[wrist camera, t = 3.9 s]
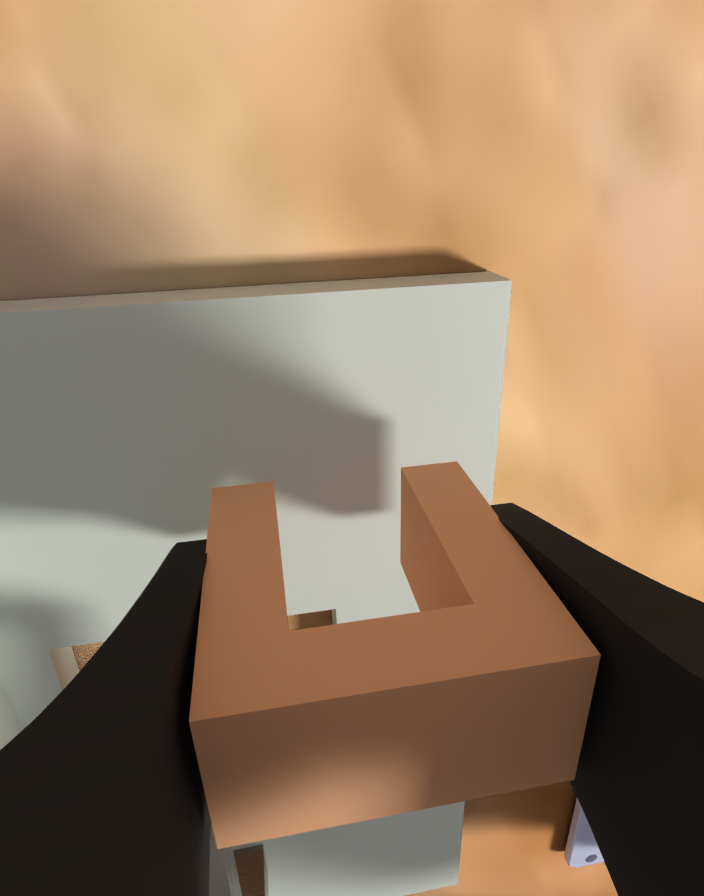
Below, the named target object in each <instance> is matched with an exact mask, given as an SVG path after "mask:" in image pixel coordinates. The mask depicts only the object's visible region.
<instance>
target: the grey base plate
mask: <svg viewBox="0 0 704 896" xmlns="http://www.w3.org/2000/svg"><path fill="white" fill-rule="evenodd" d="M511 288H512V280H510V279H507V278H505V277H503V276H500V275H498V274H495V273H493V272H490V271H486V272H470V273H453V274H437V275H421V276H404V277H388V278H371V279H355V280H338V281H322V282H305V283H289V284H272V285H256V286H239V287H223V288H206V289H190V290H174V291H157V292H141V293H124V294H108V295H91V296H75V297H58V298H42V299H25V300H9V301H0V750H1V749H2V748H3V747H4V746H5V745H7V744H8V743H9V742H10V741H11V740H12V739H13V738H14V737H15V736H17V735H18V734H19V733H20V732H21V731H22V730H23V729H24V728H25V727H27V726H28V725H29V724H30V723H31V722H32V721H33V720H34V719H35V718H36V717H37V716H38V715H39V714H40V713H41V712H42V711H43V710H44V709H45V708H46V707H47V706H48V705H49V704H50V703H51V702H52V701H53V700H54V699H55V698H56V697H57V696H58V695H59V694H60V692H61V691H62V690H63V689H64V688H65V687H66V686H67V685H68V684H69V683H70V682H71V681H72V679H73V678H74V677H75V676H76V675H77V674H78V673H79V672H80V671H79V668H78V665H77V662H76V659H75V655H74V652H73V649H72V646H78V645H85V644H92V643H99V642H105V641H106V639H107V638H108V637H109V636H110V635H111V633H112V632H113V631H114V630H115V628H116V627H117V626H118V625H119V623H120V622H121V621H122V619H123V618H124V617H125V615H126V614H127V612H128V611H129V610H130V608H131V607H132V606H133V604H134V603H135V602H136V600H137V599H138V597H139V596H140V595H141V593H142V592H143V591H144V589H145V588H146V586H147V585H148V583H149V582H150V580H151V579H152V577H153V576H154V574H155V573H156V572H157V570H158V568H159V567H160V565H161V564H162V562H163V561H164V559H165V558H166V556H167V555H168V553H169V552H170V550H171V549H172V547H173V546H174V545H175V544H176V543H177V542H186V541H194V540H203V539H207V533H208V523H209V513H210V503H211V492H212V488H217V487H226V486H235V485H244V484H253V483H263V482H272V481H274V491H275V501H276V510H277V520H278V530H279V539H280V549H281V558H282V568H283V578H284V588H285V598H286V608H287V616H290V615H297V614H304V613H311V612H318V611H325V610H331V611H332V625H333V624H339V623H346V622H353V621H360V620H367V619H374V618H381V617H388V616H395V615H401V614H408V613H415V612H420V610H419V608H418V605H417V603H416V600H415V598H414V595H413V593H412V590H411V588H410V585H409V583H408V580H407V578H406V575H405V573H404V571H403V568H402V566H401V563H400V535H401V467H409V466H419V465H428V464H437V463H446V462H455V461H457V462H458V463H459V464H460V466H461V467H462V468H463V470H464V471H465V473H466V474H467V475H468V477H469V478H470V479H471V481H472V482H473V483H474V485H475V486H476V487H477V489H478V490H479V491H480V493H481V494H482V495H483V497H484V498H485V499H486V501H487V502H488V504H489V505H492V497H493V486H494V475H495V464H496V453H497V442H498V431H499V420H500V409H501V398H502V387H503V376H504V365H505V354H506V343H507V332H508V321H509V310H510V299H511ZM464 806H465V801H463V802H458V803H453V804H448V805H443V806H438V807H433V808H427V809H422V810H417V811H412V812H407V813H402V814H397V815H391V816H386V817H381V818H376V819H371V820H366V821H360V822H355V823H350V824H345V825H340V826H335V827H330V828H324V829H319V830H314V831H309V832H304V833H299V834H293V835H288V836H283V837H278V838H273V839H268V840H263V841H257V842H252V843H247V844H242V845H237V846H232V848H233V850H237V849H242V848H247V847H252V846H257V845H262V844H263V846H264V852H265V858H266V864H267V870H268V895H269V896H405V895H410V894H415V893H419V892H424V891H428V890H433V889H438V888H442V887H447V886H452V885H456V884H457V883H458V872H459V861H460V850H461V839H462V828H463V817H464Z"/></svg>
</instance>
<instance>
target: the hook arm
mask: <svg viewBox="0 0 704 896" xmlns="http://www.w3.org/2000/svg"><path fill="white" fill-rule="evenodd" d="M209 896H269V895H268V870H267V864H266V858H265V852H264V846H263V844H262V845H257V846H252V847H247V848H242V849H237V850H233V848H232V847H227V848H221V849H217V845H216V841H215V836H214V832H213V827H212V823H211V830H210V871H209Z"/></svg>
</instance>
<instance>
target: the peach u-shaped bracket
mask: <svg viewBox="0 0 704 896" xmlns="http://www.w3.org/2000/svg"><path fill="white" fill-rule="evenodd" d="M498 518H499V517H498V516H497V514H496V513H495V512H494V510H493V509H492V508H491V506H490V505H489V504H488V502H487V501H486V499H485V498H484V497H483V495H482V494H481V493H480V491H479V490H478V489H477V487H476V486H475V485H474V483H473V482H472V481H471V479H470V478H469V477H468V475H467V474H466V473H465V471H464V470H463V468H462V467H461V466H460V464H459V463H458V462H457V461H455V462H446V463H437V464H428V465H419V466H409V467H401V535H400V563H401V566H402V568H403V571H404V573H405V575H406V578H407V580H408V583H409V585H410V588H411V590H412V593H413V595H414V598H415V600H416V603H417V605H418V608H419V610H420V612H415V613H408V614H401V615H395V616H388V617H381V618H374V619H367V620H360V621H353V622H346V623H339V624H333V625H326V626H319V627H312V628H305V629H298V630H291V631H289V628H288V618H287V608H286V598H285V588H284V578H283V568H282V558H281V549H280V539H279V530H278V520H277V510H276V501H275V491H274V481H272V482H263V483H253V484H244V485H235V486H226V487H217V488H212V492H211V503H210V513H209V523H208V533H207V543H206V553H207V563H206V567H205V572H204V576H203V584H202V594H201V604H200V614H199V625H198V635H197V645H196V655H195V665H194V675H193V686H192V696H191V706H190V716H189V725H190V729H191V734H192V738H193V743H194V747H195V751H196V756H197V760H198V765H199V769H200V774H201V778H202V783H203V787H204V792H205V796H206V801H207V805H208V810H209V814H210V819H211V823H212V827H213V832H214V836H215V841H216V845H217V849H221V848H227V847H232V846H237V845H242V844H247V843H252V842H257V841H263V840H268V839H273V838H278V837H283V836H288V835H293V834H299V833H304V832H309V831H314V830H319V829H324V828H330V827H335V826H340V825H345V824H350V823H355V822H360V821H366V820H371V819H376V818H381V817H386V816H391V815H397V814H402V813H407V812H412V811H417V810H422V809H427V808H433V807H438V806H443V805H448V804H453V803H458V802H463V801H469V800H474V799H479V798H484V797H489V796H494V795H500V794H505V793H510V792H515V791H520V790H525V789H530V788H536V787H541V786H546V785H551V784H556V783H561V782H567V781H572V780H574V779H575V775H576V770H577V765H578V761H579V756H580V751H581V746H582V742H583V737H584V732H585V727H586V723H587V718H588V713H589V708H590V704H591V699H592V694H593V689H594V685H595V680H596V675H597V671H598V666H599V661H600V656H601V654H600V653H599V652H598V650H597V649H596V648H595V646H594V645H593V644H592V642H591V641H590V640H589V638H588V637H587V636H586V634H585V633H584V632H583V630H582V629H581V627H580V626H579V625H578V623H577V622H576V621H575V619H574V618H573V617H572V615H571V614H570V613H569V611H568V610H567V609H566V607H565V606H564V605H563V603H562V602H561V601H560V599H559V598H558V596H557V595H556V594H555V592H554V591H553V590H552V588H551V587H550V586H549V584H548V583H547V582H546V580H545V579H544V578H543V576H542V575H541V574H540V572H539V571H538V570H537V568H536V567H535V565H534V564H533V563H532V561H531V560H530V559H529V557H528V556H527V555H526V553H525V552H524V551H523V549H522V548H521V547H520V545H519V544H518V543H517V541H516V540H515V539H514V537H513V536H512V535H511V534H510V532H509V531H508V530H507V529H506V528H505V527H504V526H503V524H502V523H501V522H500V520H499V519H498Z"/></svg>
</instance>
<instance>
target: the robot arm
mask: <svg viewBox="0 0 704 896" xmlns="http://www.w3.org/2000/svg"><path fill="white" fill-rule="evenodd" d="M490 506H491V508H492V509H493V510H494V512H495V513H496V514H497V516H498V517H499V518H498V519H499V520H500V522H501V523H502V524H503V526H504V527H505V528H506V529H507V530H508V531H509V532H510V534H511V535H512V536H513V537H514V539H515V540H516V541H517V543H518V544H519V545H520V547H521V548H522V549H523V551H524V552H525V553H526V555H527V556H528V557H529V559H530V560H531V561H532V563H533V564H534V565H535V567H536V568H537V570H538V571H539V572H540V574H541V575H542V576H543V578H544V579H545V580H546V582H547V583H548V584H549V586H550V587H551V588H552V590H553V591H554V592H555V594H556V595H557V596H558V598H559V599H560V601H561V602H562V603H563V605H564V606H565V607H566V609H567V610H568V611H569V613H570V614H571V615H572V617H573V618H574V619H575V621H576V622H577V623H578V625H579V626H580V627H581V629H582V630H583V632H584V633H585V634H586V636H587V637H588V638H589V640H590V641H591V642H592V644H593V645H594V646H595V648H596V649H597V650H598V652H599V653H600V654H601V656H600V661H599V666H598V671H597V675H596V680H595V685H594V689H593V694H592V699H591V704H590V708H589V713H588V718H587V723H586V727H585V732H584V737H583V742H582V746H581V751H580V756H579V761H578V765H577V770H576V775H575V779H574V780H572V781H570V782H571V784H572V787H573V789H574V791H575V794H576V796H577V800H576V805H575V809H574V814H573V818H572V822H571V827H570V831H569V836H568V840H567V845H566V849H565V853H564V856H565V859H566V861H567V863H568V865H569V866H571V867H574V868H576V867H582V866H586V865H591V864H596V863H600V862H605V864H606V866H607V869H608V871H609V874H610V876H611V878H612V881H613V883H614V886H615V888H616V891H617V893H618V896H704V603H703V602H701V601H699V600H696V599H694V598H691V597H689V596H687V595H684V594H682V593H680V592H678V591H676V590H673V589H671V588H669V587H667V586H665V585H663V584H661V583H659V582H657V581H655V580H653V579H651V578H649V577H647V576H645V575H643V574H641V573H639V572H637V571H635V570H633V569H631V568H629V567H627V566H625V565H623V564H621V563H619V562H617V561H615V560H613V559H612V558H610V557H608V556H606V555H604V554H602V553H601V552H599V551H597V550H595V549H593V548H592V547H590V546H588V545H586V544H584V543H583V542H581V541H579V540H577V539H576V538H574V537H572V536H570V535H569V534H567V533H565V532H564V531H562V530H560V529H558V528H557V527H555V526H553V525H551V524H550V523H548V522H546V521H545V520H543V519H541V518H539V517H538V516H536V515H534V514H532V513H530V512H529V511H527V510H525V509H523V508H521V507H519V506H517V505H515V504H513V503H506V504H498V505H490ZM206 543H207V539H203V540H194V541H186V542H177V543H176V544H175V545H174V546H173V547H172V549H171V550H170V552H169V553H168V555H167V556H166V558H165V559H164V561H163V562H162V564H161V565H160V567H159V568H158V570H157V572H156V573H155V574H154V576H153V577H152V579H151V580H150V582H149V583H148V585H147V586H146V588H145V589H144V591H143V592H142V593H141V595H140V596H139V597H138V599H137V600H136V602H135V603H134V604H133V606H132V607H131V608H130V610H129V611H128V612H127V614H126V615H125V617H124V618H123V619H122V621H121V622H120V623H119V625H118V626H117V627H116V628H115V630H114V631H113V632H112V633H111V635H110V636H109V637H108V638H107V639H106V641H105V642H104V643H103V644H102V645H101V647H100V648H99V649H98V650H97V652H96V653H95V654H94V655H93V656H92V658H91V659H90V660H89V661H88V662H87V664H86V665H85V666H84V667H83V668H82V669H81V671H80V672H79V673H78V674H77V675H76V676H75V677H74V678H73V679H72V681H71V682H70V683H69V684H68V685H67V686H66V687H65V688H64V689H63V690H62V691H61V692H60V694H59V695H58V696H57V697H56V698H55V699H54V700H53V701H52V702H51V703H50V704H49V705H48V706H47V707H46V708H45V709H44V710H43V711H42V712H41V713H40V714H39V715H38V716H37V717H36V718H35V719H34V720H33V721H32V722H31V723H30V724H29V725H28V726H27V727H25V728H24V729H23V730H22V731H21V732H20V733H19V734H18V735H17V736H15V737H14V738H13V739H12V740H11V741H10V742H9V743H8V744H7V745H5V746H4V747H3V748H2V749H1V750H0V896H209V871H210V830H211V819H210V814H209V810H208V805H207V801H206V796H205V792H204V787H203V783H202V778H201V774H200V769H199V765H198V760H197V756H196V751H195V747H194V743H193V738H192V734H191V729H190V725H189V716H190V706H191V696H192V686H193V675H194V665H195V655H196V645H197V635H198V625H199V614H200V604H201V594H202V584H203V576H204V572H205V567H206V563H207V553H206Z"/></svg>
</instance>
